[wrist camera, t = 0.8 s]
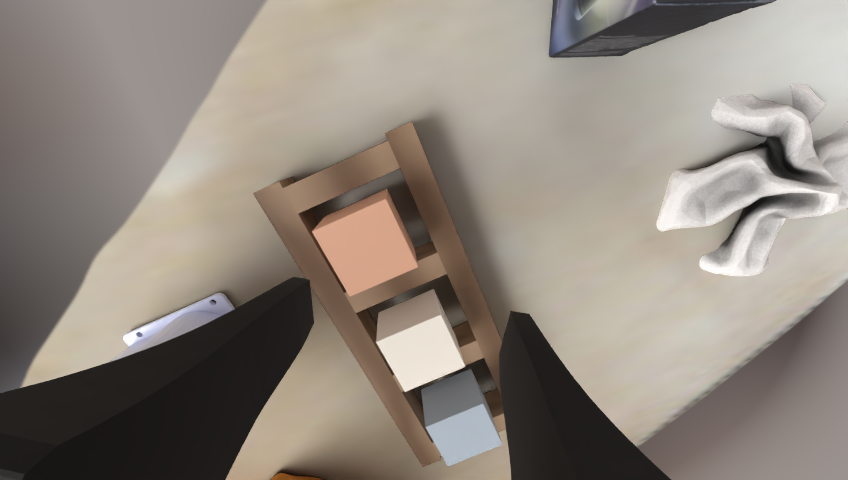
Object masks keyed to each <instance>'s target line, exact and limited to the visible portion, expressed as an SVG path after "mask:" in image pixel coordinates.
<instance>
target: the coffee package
mask: <svg viewBox="0 0 848 480" xmlns="http://www.w3.org/2000/svg"><path fill="white" fill-rule="evenodd" d="M271 480H323V479H320V478H316V477H305V476H293V475H288V474H284V473H279V474H277V475H275V476H274V477H273V478H272V479H271Z"/></svg>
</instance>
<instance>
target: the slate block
mask: <svg viewBox="0 0 848 480" xmlns="http://www.w3.org/2000/svg"><path fill="white" fill-rule="evenodd" d="M421 393H422V402H423V411H424V419H425V427H426V429H427V431H428V433H429V434H430V436H431V438H432V440H433V441H434V443H435V445H436V446H437V448H438V450H439V452H440V453H441V455H442V457H443V458H444V460H445V462H446V464H447V465H448V466H451V465H453V464H456V463H458V462H461V461H463V460H466V459H468V458H471V457H473V456H475V455H478V454H480V453H483V452H485V451H488V450H490V449H493V448H495V447H498V446H500V445H502V442H501V439H500V436H499V434H498V431H497V428H496V425H495V422H494V420H493V417H492V414H491V411H490V409H489V406H488V404H487V402H486V399H485V397H484V395H483V393H482V391H481V389H480V387H479V384H478V382H477V380H476V378H475V376H474V374H473V372H472V370H471V369H469V370H466V371H464V372H461V373H459V374H457V375H454V376H452V377H449V378H447V379H445V380H442V381H440V382H437V383H435V384H433V385H430V386H428V387H425V388H423V389H421Z"/></svg>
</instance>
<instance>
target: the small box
mask: <svg viewBox="0 0 848 480" xmlns="http://www.w3.org/2000/svg"><path fill="white" fill-rule="evenodd" d="M774 1H776V0H553V10H552V21H551V35H550V48H549V57H553V58H556V57H597V56H622V55H625V54H627V53H628V52H630V51H632V50H635V49H638V48H641V47H643V46H647V45H650V44H652V43H655V42H657V41H660V40H663V39H666V38H669V37H672V36H675V35H678V34H680V33H683V32H686V31H689V30H692V29H694V28H697V27H700V26H703V25H705V24H707V23H709V22H713V21H716V20H719V19H721V18H724V17H727V16H730V15H732V14H736V13H740V12H742V11H745V10H747V9H749V8H755V7H758V6H762V5H765V4H768V3H772V2H774Z"/></svg>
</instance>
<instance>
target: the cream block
mask: <svg viewBox="0 0 848 480" xmlns="http://www.w3.org/2000/svg"><path fill="white" fill-rule="evenodd" d="M376 343H377V345H378V346H379V348H380V350H381V352H382V353H383V355H384V357H385V359H386V360H387V362H388V364H389V365H390V367H391V369H392V371H393V372H394V374H395V376H396V377H397V379H398V381H399V383H400V384H401V386H402V388H403V390H404V391H405V392H406V391H409V390H411V389H413V388H416V387H418V386H421V385H423V384H425V383H428V382H430V381H433V380H435V379H437V378H440V377H442V376H444V375H447V374H449V373H452V372H454V371H456V370H459V369H461V368H464V367H465V364H464V361H463V357H462V354H461V351H460V348H459V345H458V342H457V339H456V335H455V333H454V331H453V329H452V327H451V325H450V323H449V320H448V318H447V316H446V314H445V312H444V310H443V308H442V305H441V303H440V301H439V299H438V297H437V295H436V293H435V290H434V289H432V290H429V291H427V292H425V293H422V294H420V295H418V296H415V297H413V298H411V299H408V300H406V301H404V302H401V303H399V304H397V305H394V306H392V307H390V308H387V309H385V310H383V311H380V312H378V324H377V336H376Z"/></svg>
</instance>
